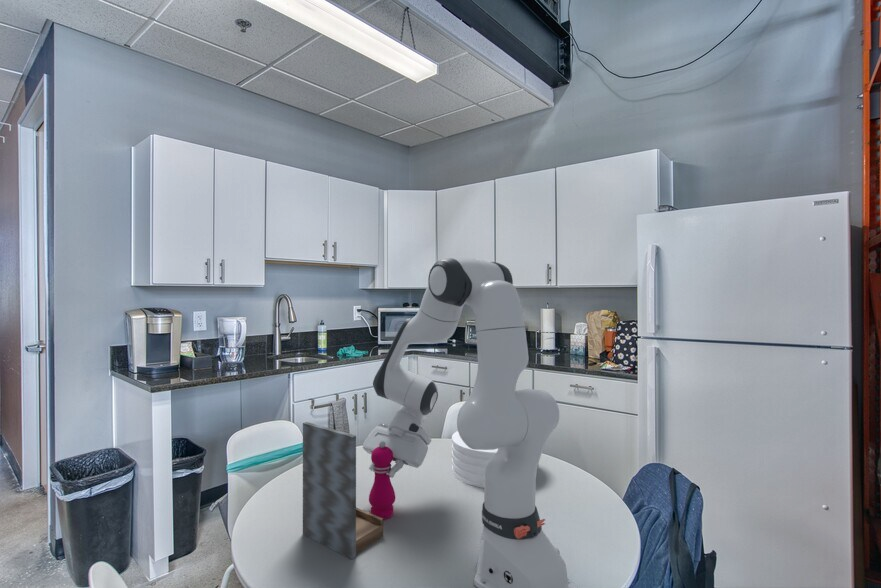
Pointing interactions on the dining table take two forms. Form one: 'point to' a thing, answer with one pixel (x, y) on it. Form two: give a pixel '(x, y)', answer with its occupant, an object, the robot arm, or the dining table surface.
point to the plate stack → (469, 462)
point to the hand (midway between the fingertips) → (380, 473)
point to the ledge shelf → (334, 493)
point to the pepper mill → (382, 483)
